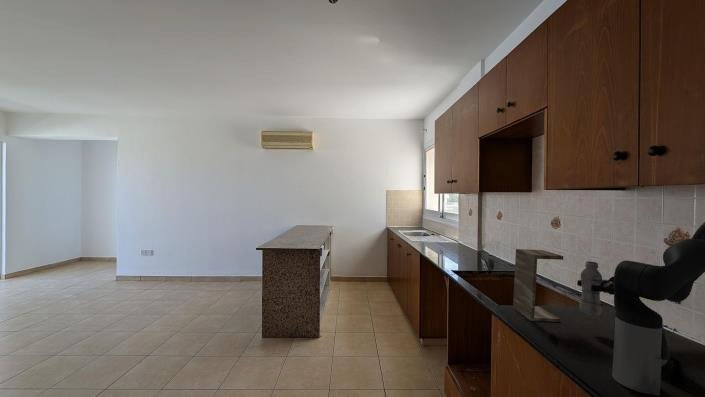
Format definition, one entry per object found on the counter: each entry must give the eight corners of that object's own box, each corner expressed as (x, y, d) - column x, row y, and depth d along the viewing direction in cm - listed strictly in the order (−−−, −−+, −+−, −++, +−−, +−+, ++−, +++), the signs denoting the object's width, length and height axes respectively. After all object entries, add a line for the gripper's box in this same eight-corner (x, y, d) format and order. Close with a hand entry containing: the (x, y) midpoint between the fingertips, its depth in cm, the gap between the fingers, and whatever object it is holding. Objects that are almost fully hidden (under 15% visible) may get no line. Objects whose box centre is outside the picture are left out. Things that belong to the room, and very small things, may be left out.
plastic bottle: (605, 318, 109) (607, 265, 109) (584, 316, 111) (586, 263, 110) (595, 312, 116) (597, 261, 115) (575, 310, 117) (577, 260, 117)
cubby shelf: (538, 309, 134) (541, 249, 133) (559, 321, 121) (563, 256, 120) (512, 308, 133) (515, 249, 133) (531, 320, 120) (534, 255, 120)
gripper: (611, 271, 121) (570, 271, 120) (647, 282, 106) (601, 281, 106) (610, 290, 121) (570, 289, 120) (646, 303, 106) (600, 302, 106)
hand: (585, 285), depth 113 cm, fingers closed on plastic bottle, 6 cm apart
